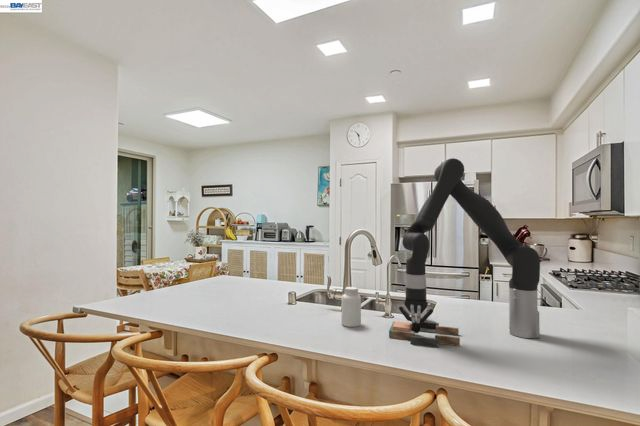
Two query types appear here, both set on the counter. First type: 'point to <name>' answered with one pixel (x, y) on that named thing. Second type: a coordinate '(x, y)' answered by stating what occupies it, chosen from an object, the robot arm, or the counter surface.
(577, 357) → the counter surface
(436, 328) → the trap lane
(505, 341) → the counter surface
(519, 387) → the counter surface
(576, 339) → the counter surface
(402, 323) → the terracotta block
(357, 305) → the pill bottle
